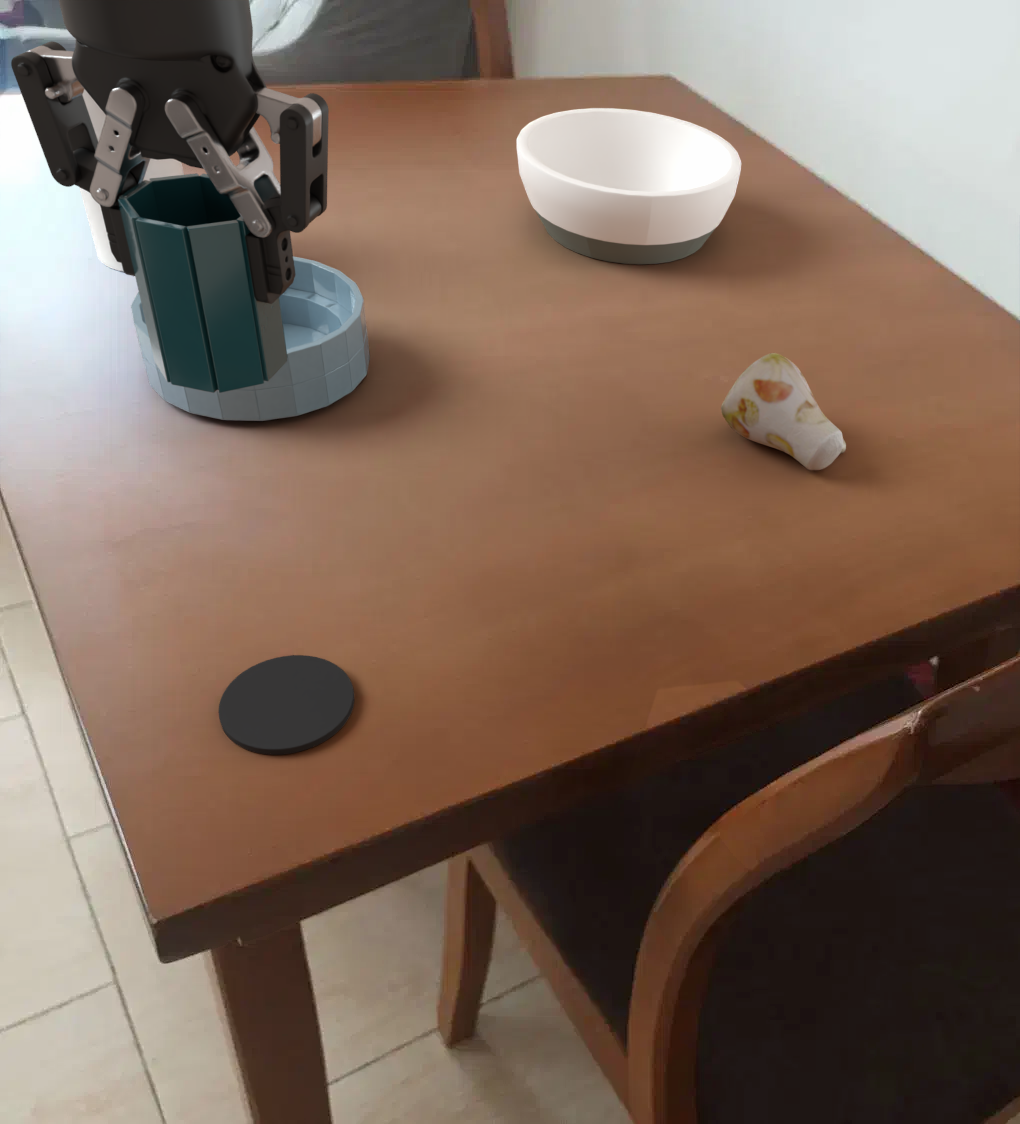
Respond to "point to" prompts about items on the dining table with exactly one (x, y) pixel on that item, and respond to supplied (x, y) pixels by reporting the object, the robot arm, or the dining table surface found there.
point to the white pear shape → (782, 413)
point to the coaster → (286, 704)
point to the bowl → (627, 182)
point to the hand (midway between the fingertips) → (208, 282)
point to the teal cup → (199, 286)
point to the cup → (93, 208)
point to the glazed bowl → (288, 353)
